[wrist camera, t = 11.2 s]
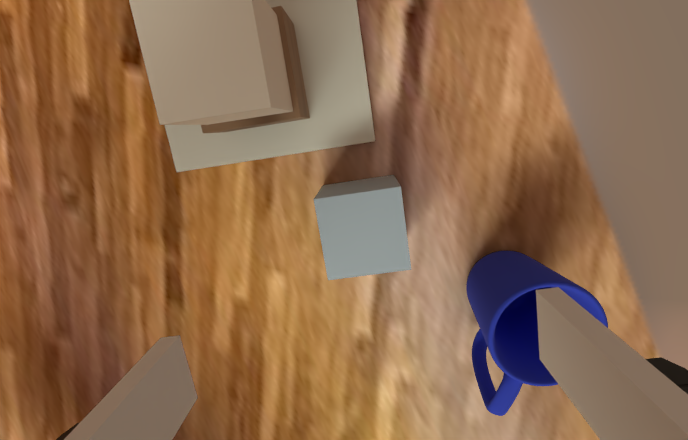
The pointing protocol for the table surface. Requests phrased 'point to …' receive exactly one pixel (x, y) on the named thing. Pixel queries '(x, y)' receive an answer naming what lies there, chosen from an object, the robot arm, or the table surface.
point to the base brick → (293, 79)
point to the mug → (514, 322)
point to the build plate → (321, 92)
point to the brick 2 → (362, 227)
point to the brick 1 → (212, 59)
